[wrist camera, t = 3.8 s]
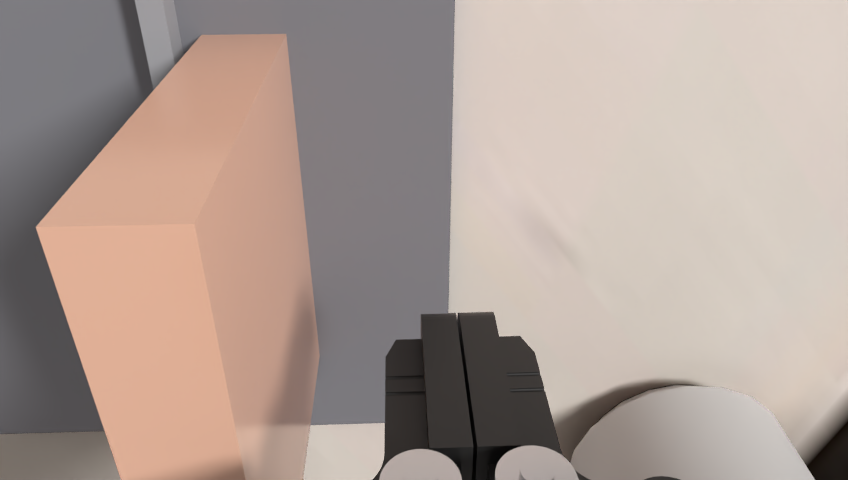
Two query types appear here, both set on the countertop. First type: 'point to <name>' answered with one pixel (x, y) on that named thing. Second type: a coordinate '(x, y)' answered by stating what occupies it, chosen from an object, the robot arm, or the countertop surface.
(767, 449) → the can
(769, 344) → the countertop surface
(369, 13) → the mat
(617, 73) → the countertop surface
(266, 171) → the tile
